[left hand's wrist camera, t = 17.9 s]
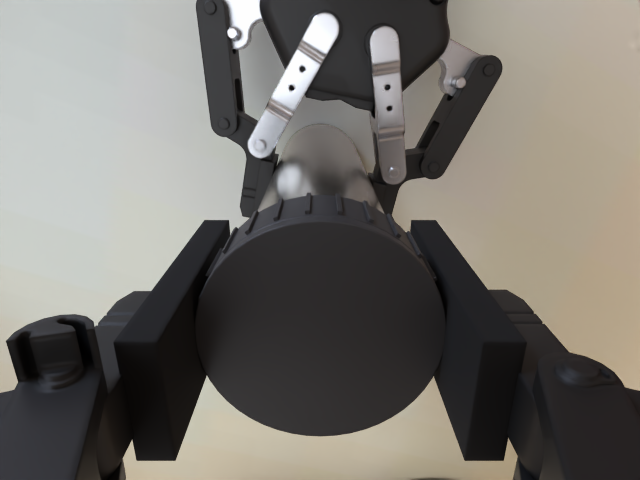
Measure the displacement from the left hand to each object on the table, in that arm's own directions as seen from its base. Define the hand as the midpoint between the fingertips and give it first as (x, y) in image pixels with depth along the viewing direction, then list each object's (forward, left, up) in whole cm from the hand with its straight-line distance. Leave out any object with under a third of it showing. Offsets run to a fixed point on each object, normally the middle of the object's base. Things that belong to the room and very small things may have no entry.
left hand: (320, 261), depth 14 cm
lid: (0, 0, +4) cm, 4 cm away
